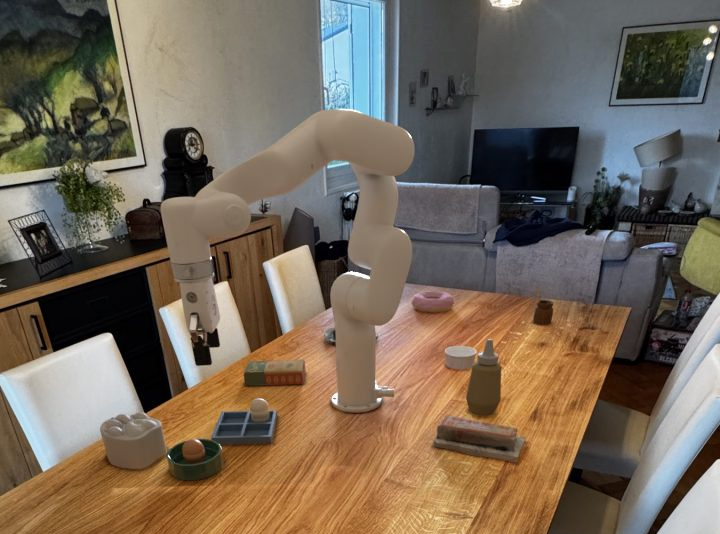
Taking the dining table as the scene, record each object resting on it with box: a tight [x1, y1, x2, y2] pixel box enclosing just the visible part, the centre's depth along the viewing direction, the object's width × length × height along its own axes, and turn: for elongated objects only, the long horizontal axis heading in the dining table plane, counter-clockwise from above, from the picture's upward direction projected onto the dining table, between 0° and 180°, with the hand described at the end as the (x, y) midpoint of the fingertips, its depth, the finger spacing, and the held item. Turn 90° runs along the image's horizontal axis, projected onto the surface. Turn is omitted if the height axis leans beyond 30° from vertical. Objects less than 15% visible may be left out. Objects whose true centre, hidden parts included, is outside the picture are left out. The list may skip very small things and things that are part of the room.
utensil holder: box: [532, 286, 557, 326], centre depth 190 cm, size 6×6×12 cm
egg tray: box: [210, 409, 278, 445], centre depth 132 cm, size 13×13×2 cm
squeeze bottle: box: [465, 338, 502, 417], centre depth 133 cm, size 8×8×18 cm
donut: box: [410, 290, 455, 314], centre depth 210 cm, size 16×15×5 cm
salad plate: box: [323, 326, 379, 347], centre depth 185 cm, size 19×18×5 cm
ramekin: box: [444, 345, 478, 371], centre depth 162 cm, size 9×9×4 cm
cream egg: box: [249, 397, 270, 423], centre depth 134 cm, size 4×4×6 cm
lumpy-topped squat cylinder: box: [99, 411, 168, 470], centre depth 122 cm, size 10×13×9 cm
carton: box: [243, 359, 306, 387], centre depth 157 cm, size 8×16×4 cm, turn 88°
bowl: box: [165, 438, 225, 481], centre depth 118 cm, size 11×11×4 cm
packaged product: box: [432, 415, 526, 464], centre depth 123 cm, size 18×5×10 cm
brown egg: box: [182, 438, 206, 464], centre depth 117 cm, size 4×4×6 cm
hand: (208, 355), depth 117 cm, fingers open, 9 cm apart
